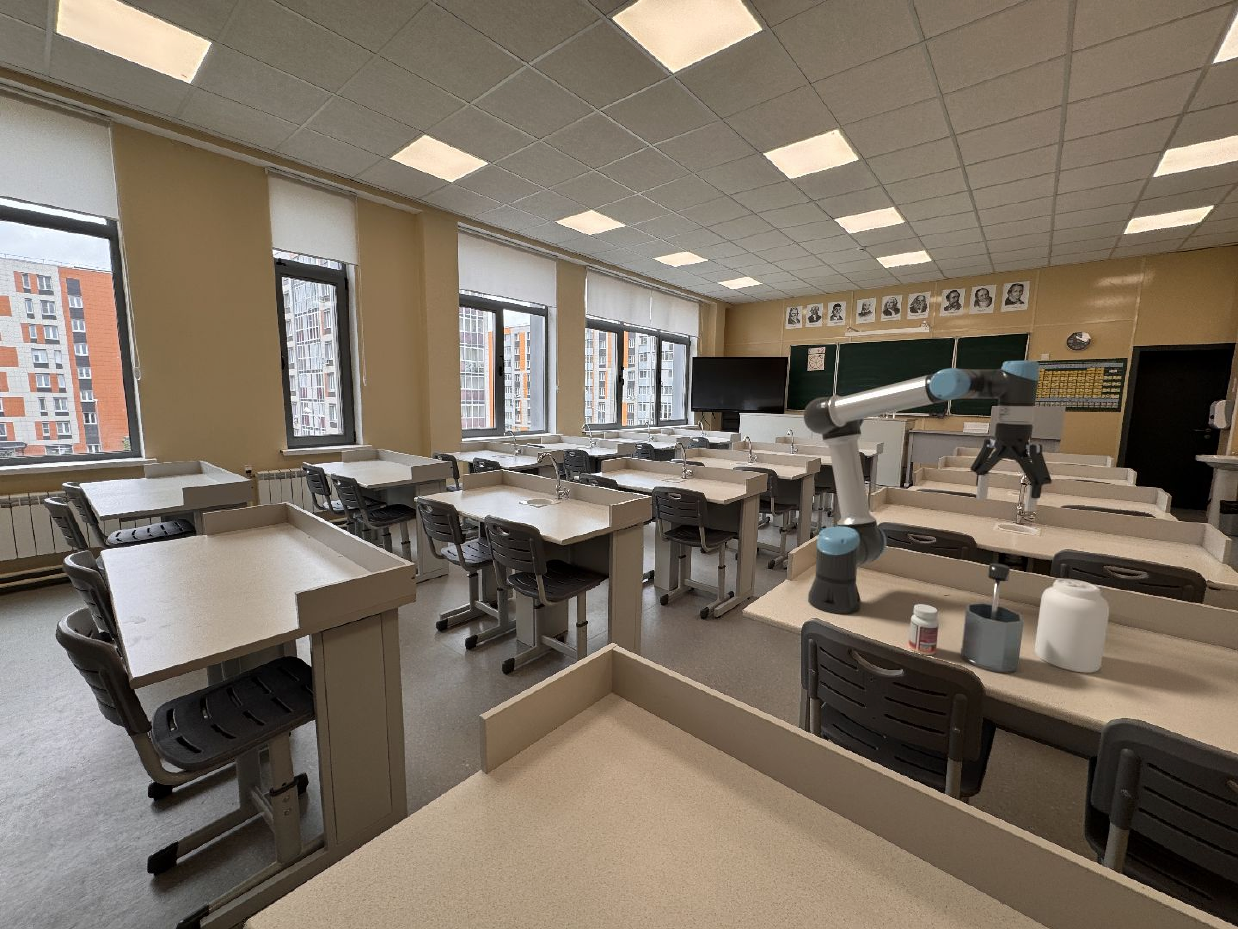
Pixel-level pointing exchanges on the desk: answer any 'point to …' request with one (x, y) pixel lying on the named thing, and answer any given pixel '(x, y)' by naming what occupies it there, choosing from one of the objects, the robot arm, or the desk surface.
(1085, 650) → the can
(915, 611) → the pill bottle
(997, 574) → the plunger
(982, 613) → the grey octagonal container
